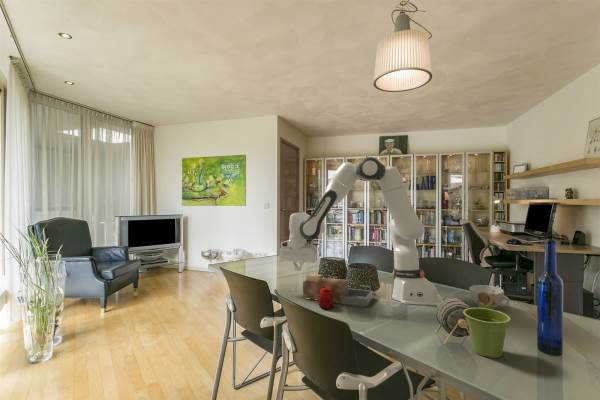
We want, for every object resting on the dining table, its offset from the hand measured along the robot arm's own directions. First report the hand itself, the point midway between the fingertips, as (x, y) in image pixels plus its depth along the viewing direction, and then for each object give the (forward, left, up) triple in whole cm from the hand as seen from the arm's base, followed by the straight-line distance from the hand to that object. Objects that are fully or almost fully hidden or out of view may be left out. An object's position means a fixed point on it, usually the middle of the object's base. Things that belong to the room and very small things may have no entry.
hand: (298, 270), depth 151 cm
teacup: (-84, -11, -12) cm, 86 cm away
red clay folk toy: (-20, +13, -12) cm, 27 cm away
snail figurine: (-81, +5, -12) cm, 82 cm away
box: (-30, 0, -12) cm, 33 cm away
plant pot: (-78, +33, -12) cm, 86 cm away
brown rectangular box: (-15, 0, -12) cm, 19 cm away
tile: (-9, 0, -4) cm, 10 cm away
